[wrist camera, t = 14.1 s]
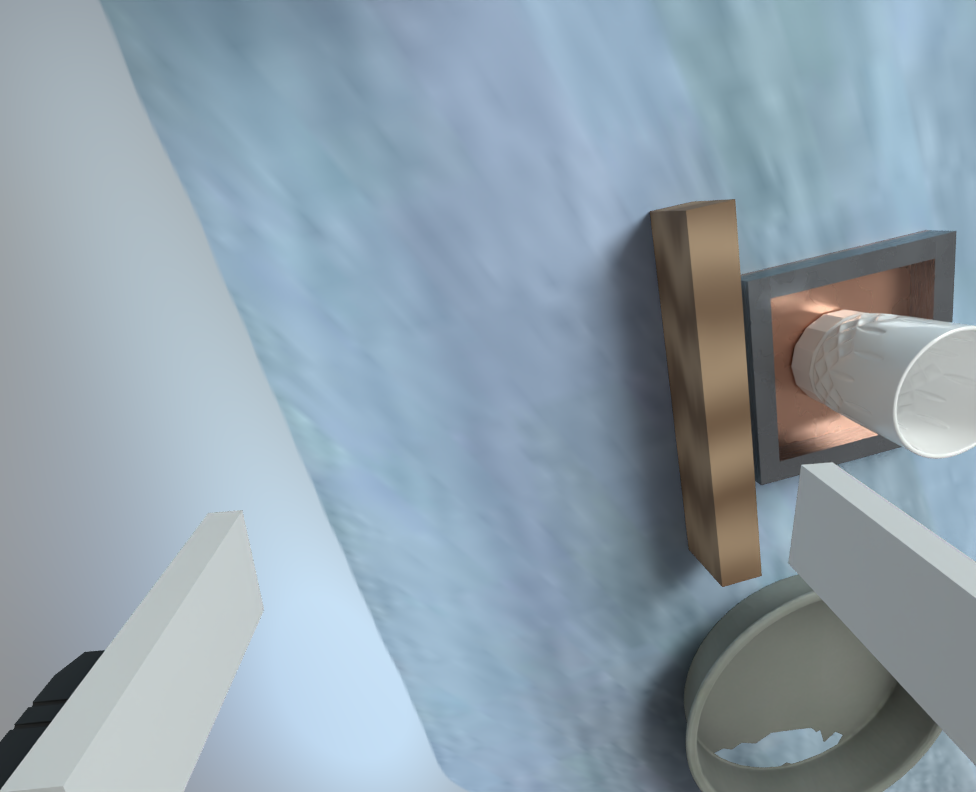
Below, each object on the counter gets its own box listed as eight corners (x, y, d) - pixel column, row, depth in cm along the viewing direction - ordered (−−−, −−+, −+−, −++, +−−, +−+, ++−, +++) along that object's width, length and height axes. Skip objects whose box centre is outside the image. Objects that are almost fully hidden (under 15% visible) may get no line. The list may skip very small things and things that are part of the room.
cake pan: (609, 678, 49) (630, 722, 45) (847, 496, 48) (892, 524, 43) (749, 822, 57) (778, 871, 53) (958, 670, 56) (1005, 707, 51)
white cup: (882, 290, 42) (1024, 311, 33) (881, 393, 44) (1012, 440, 35) (780, 315, 41) (894, 344, 32) (784, 417, 44) (892, 473, 34)
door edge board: (649, 211, 38) (686, 210, 34) (693, 201, 38) (735, 199, 34) (688, 549, 46) (722, 587, 42) (724, 539, 47) (761, 575, 42)
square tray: (728, 277, 40) (747, 281, 38) (925, 230, 42) (956, 230, 39) (743, 471, 45) (761, 485, 43) (920, 423, 46) (947, 434, 44)
